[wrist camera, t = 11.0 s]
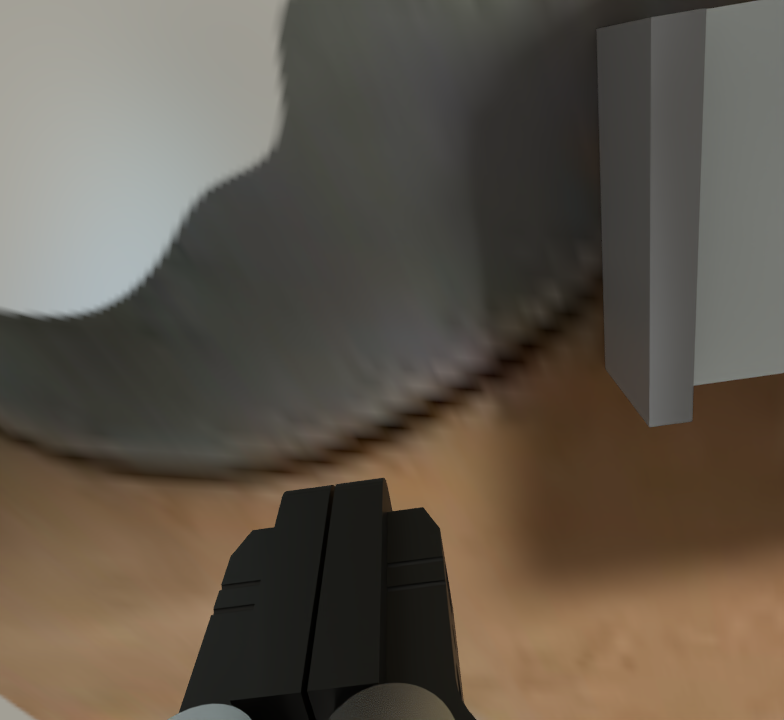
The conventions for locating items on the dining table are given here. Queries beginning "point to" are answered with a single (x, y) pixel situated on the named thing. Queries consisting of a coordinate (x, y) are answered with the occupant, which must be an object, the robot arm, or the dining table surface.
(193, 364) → the dining table surface
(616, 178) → the grey flat bracket
